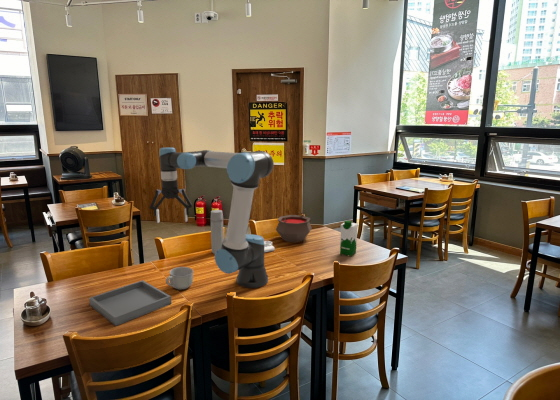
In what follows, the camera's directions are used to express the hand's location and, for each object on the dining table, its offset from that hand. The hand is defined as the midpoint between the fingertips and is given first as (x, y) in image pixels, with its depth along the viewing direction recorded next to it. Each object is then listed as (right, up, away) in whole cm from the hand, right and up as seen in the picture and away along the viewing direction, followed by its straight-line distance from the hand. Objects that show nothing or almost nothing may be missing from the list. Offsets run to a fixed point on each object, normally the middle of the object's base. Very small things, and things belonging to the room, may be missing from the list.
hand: (172, 221), depth 188 cm
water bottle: (+17, -20, +35) cm, 44 cm away
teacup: (+7, -30, -12) cm, 33 cm away
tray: (-10, -33, -28) cm, 45 cm away
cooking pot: (+63, -15, +60) cm, 88 cm away
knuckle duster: (+42, -20, +40) cm, 61 cm away
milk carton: (+94, -21, +33) cm, 102 cm away
